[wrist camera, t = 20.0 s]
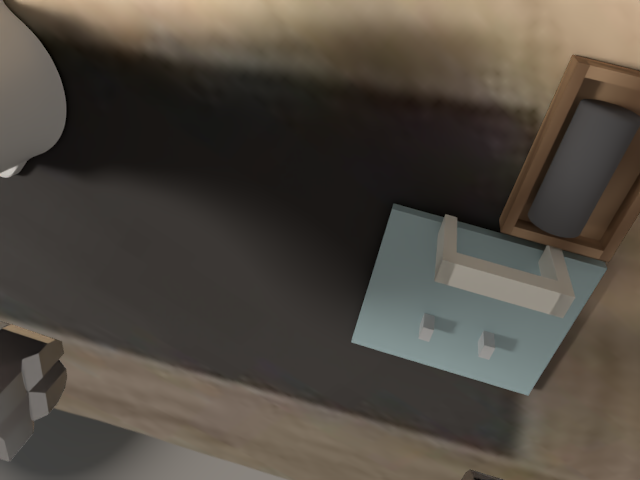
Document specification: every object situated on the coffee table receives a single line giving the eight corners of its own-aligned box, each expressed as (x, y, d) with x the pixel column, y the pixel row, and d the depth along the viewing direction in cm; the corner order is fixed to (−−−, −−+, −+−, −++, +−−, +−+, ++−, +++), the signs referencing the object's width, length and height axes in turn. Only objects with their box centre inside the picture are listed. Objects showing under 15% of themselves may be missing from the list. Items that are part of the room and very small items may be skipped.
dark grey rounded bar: (540, 203, 43) (518, 217, 40) (592, 95, 38) (571, 103, 35) (588, 227, 41) (569, 244, 38) (649, 117, 36) (632, 127, 33)
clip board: (352, 335, 54) (347, 356, 52) (393, 203, 45) (389, 220, 43) (527, 387, 53) (530, 411, 50) (604, 261, 44) (612, 283, 41)
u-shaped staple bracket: (437, 233, 45) (434, 281, 39) (445, 214, 44) (442, 259, 38) (550, 265, 44) (562, 318, 38) (560, 245, 43) (575, 297, 37)
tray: (499, 219, 44) (500, 232, 42) (572, 54, 36) (578, 62, 35) (603, 247, 43) (608, 262, 42) (700, 85, 36) (712, 95, 34)
